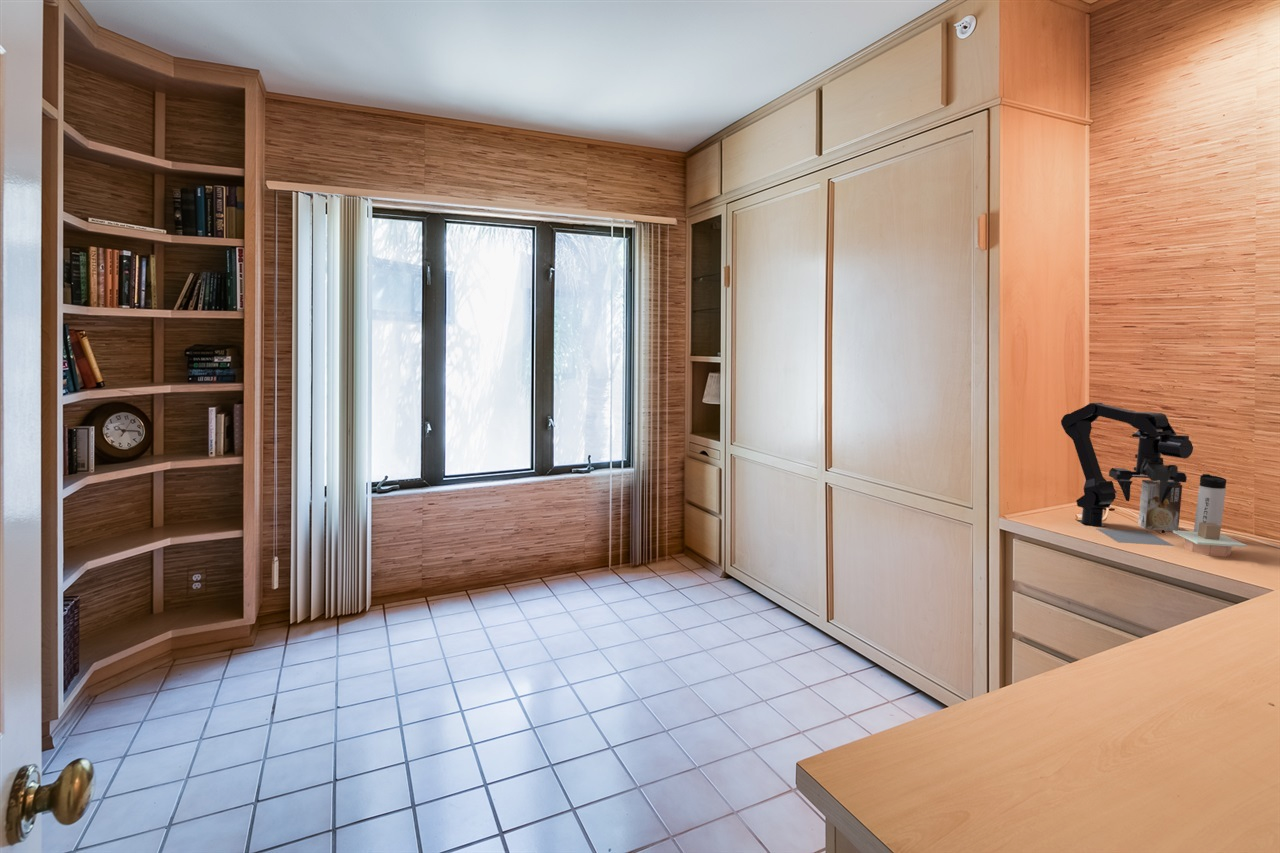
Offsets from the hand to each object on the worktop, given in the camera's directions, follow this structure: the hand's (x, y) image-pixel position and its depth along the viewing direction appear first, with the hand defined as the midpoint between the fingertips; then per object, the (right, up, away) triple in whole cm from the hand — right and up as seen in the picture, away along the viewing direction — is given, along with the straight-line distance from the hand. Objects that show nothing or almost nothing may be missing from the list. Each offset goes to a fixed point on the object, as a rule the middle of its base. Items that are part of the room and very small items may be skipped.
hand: (1144, 501), depth 200 cm
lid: (+9, -10, -12) cm, 18 cm away
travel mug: (+22, -12, +3) cm, 25 cm away
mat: (-2, -12, +2) cm, 12 cm away
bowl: (+9, -14, -12) cm, 20 cm away
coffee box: (+14, -11, +12) cm, 21 cm away
